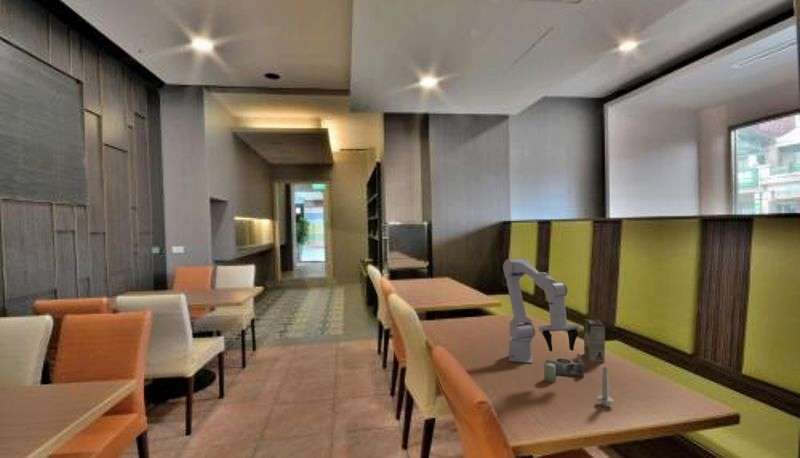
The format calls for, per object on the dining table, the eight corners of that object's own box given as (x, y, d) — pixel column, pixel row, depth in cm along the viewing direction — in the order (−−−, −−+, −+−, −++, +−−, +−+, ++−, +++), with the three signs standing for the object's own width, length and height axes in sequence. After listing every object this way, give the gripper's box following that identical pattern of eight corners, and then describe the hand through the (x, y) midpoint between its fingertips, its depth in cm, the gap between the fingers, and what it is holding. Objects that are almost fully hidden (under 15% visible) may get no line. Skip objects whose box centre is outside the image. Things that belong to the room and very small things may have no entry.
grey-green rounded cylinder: (544, 382, 142) (544, 366, 142) (544, 377, 146) (544, 362, 146) (556, 383, 141) (556, 367, 141) (555, 378, 145) (555, 363, 144)
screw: (597, 407, 123) (596, 400, 127) (614, 410, 121) (612, 403, 126) (597, 368, 122) (596, 362, 127) (614, 370, 121) (612, 364, 125)
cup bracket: (547, 373, 149) (547, 361, 149) (545, 362, 161) (545, 350, 161) (583, 377, 145) (583, 364, 145) (579, 365, 157) (579, 353, 156)
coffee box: (583, 353, 170) (583, 318, 169) (598, 354, 169) (598, 319, 168) (589, 361, 161) (589, 324, 160) (605, 362, 160) (605, 325, 159)
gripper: (541, 316, 140) (544, 353, 139) (581, 314, 138) (585, 352, 137) (536, 313, 147) (539, 349, 146) (574, 312, 145) (577, 347, 144)
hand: (561, 350), depth 142 cm, fingers open, 7 cm apart
